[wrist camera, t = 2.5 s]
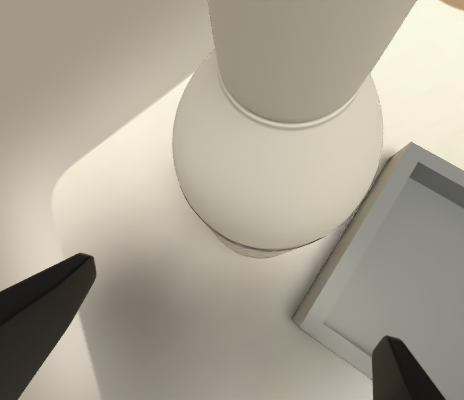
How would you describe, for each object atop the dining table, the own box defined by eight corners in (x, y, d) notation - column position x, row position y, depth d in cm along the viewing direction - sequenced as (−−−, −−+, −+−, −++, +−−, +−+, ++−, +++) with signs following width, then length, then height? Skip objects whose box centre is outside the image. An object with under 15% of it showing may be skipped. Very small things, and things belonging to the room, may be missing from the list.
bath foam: (254, 150, 23) (295, -497, 4) (324, 207, 22) (1006, -309, 2) (193, 214, 22) (-209, -173, 3) (263, 279, 21) (502, 467, 1)
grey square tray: (489, 459, 18) (537, 497, 15) (291, 318, 20) (299, 327, 17) (576, 264, 20) (633, 264, 17) (389, 158, 22) (411, 141, 19)
